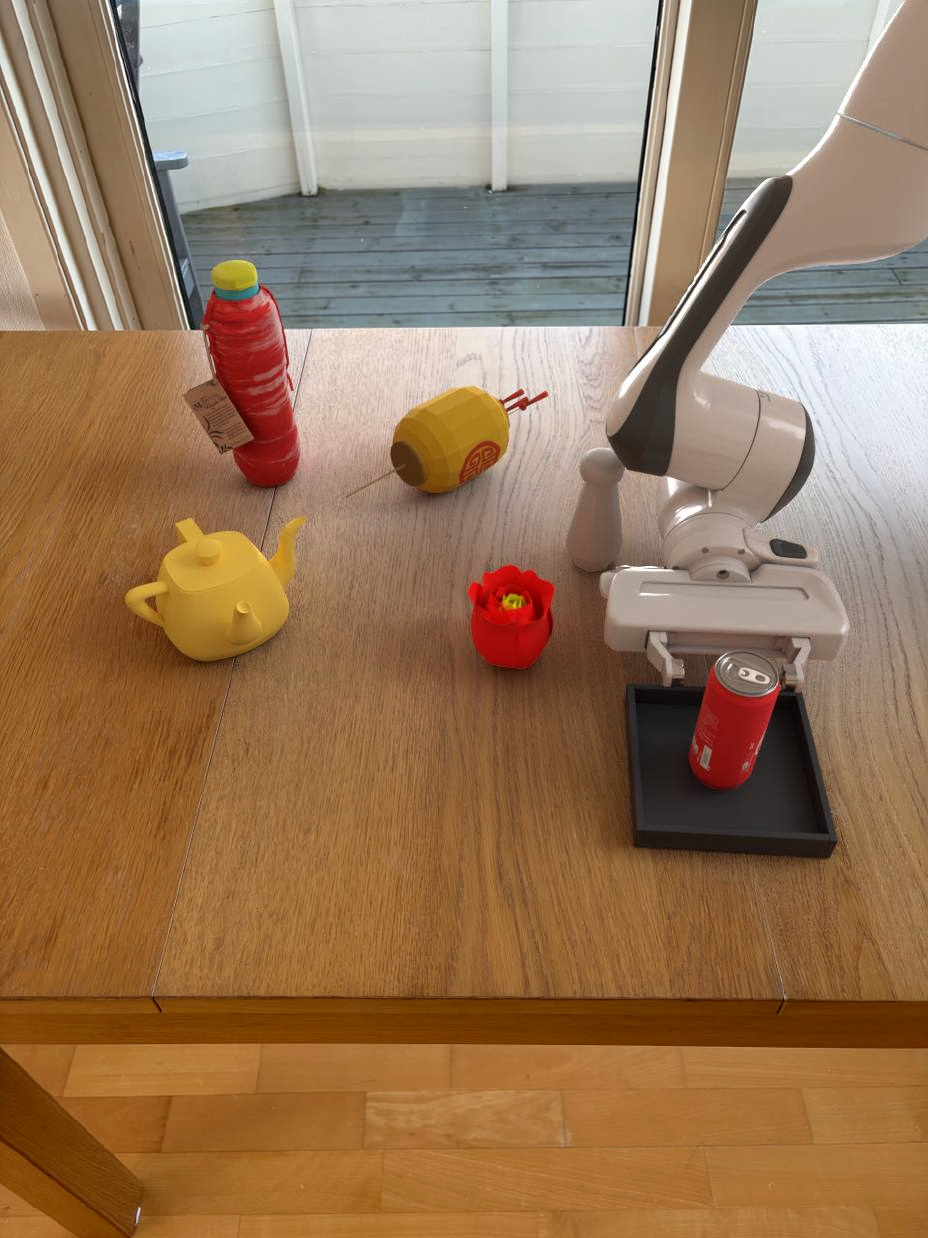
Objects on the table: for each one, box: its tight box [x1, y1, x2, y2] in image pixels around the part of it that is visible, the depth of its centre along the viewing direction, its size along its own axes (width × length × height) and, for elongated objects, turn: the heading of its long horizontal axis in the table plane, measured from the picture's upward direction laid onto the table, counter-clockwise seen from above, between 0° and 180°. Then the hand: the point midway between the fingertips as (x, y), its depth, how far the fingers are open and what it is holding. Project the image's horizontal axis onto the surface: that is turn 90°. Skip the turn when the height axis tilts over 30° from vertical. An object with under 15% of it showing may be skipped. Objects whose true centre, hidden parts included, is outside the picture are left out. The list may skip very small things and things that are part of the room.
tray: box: [623, 682, 839, 859], centre depth 79 cm, size 15×15×2 cm
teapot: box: [124, 515, 307, 662], centre depth 90 cm, size 14×13×10 cm
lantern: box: [345, 385, 549, 499], centre depth 107 cm, size 10×10×30 cm
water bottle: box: [181, 259, 302, 488], centre depth 102 cm, size 12×8×25 cm, turn 132°
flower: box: [467, 564, 556, 670], centre depth 87 cm, size 8×8×8 cm
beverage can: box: [689, 650, 781, 791], centre depth 75 cm, size 5×5×12 cm
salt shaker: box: [565, 447, 626, 573], centre depth 95 cm, size 6×6×13 cm
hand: (733, 684), depth 76 cm, fingers open, 8 cm apart
